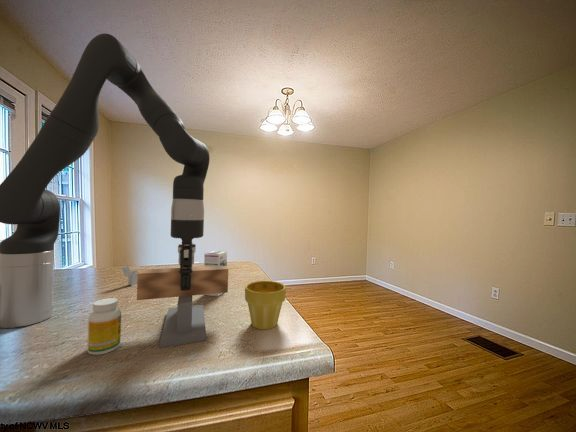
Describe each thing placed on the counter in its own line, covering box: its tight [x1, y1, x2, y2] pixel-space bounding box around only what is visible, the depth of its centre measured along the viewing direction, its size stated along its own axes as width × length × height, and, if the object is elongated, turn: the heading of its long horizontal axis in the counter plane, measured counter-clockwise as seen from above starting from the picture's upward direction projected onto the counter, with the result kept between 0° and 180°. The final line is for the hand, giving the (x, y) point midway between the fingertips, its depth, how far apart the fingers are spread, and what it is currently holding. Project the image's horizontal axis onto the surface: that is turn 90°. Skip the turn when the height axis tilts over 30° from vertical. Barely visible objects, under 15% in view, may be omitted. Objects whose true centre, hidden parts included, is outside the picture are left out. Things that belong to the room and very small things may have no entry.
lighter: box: [120, 264, 140, 287], centre depth 91 cm, size 7×2×8 cm, turn 167°
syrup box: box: [203, 250, 228, 297], centre depth 84 cm, size 6×6×14 cm
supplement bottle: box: [87, 297, 122, 356], centre depth 49 cm, size 5×5×10 cm
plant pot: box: [244, 280, 287, 330], centre depth 62 cm, size 10×10×10 cm
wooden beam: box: [136, 266, 229, 301], centre depth 60 cm, size 20×4×6 cm, turn 111°
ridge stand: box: [159, 295, 207, 349], centre depth 60 cm, size 9×18×8 cm, turn 21°
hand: (185, 286), depth 60 cm, fingers open, 4 cm apart
